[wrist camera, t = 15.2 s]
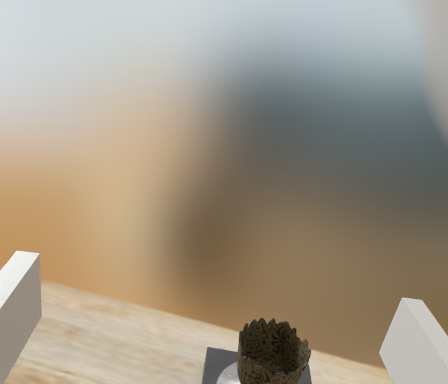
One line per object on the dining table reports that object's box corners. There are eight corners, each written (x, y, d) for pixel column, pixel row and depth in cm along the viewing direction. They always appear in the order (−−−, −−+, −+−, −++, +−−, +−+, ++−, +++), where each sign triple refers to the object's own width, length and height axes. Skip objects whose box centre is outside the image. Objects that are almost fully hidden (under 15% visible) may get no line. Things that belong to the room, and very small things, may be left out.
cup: (306, 414, 44) (325, 360, 41) (248, 438, 40) (263, 380, 37) (270, 362, 50) (284, 311, 46) (216, 378, 46) (227, 324, 43)
